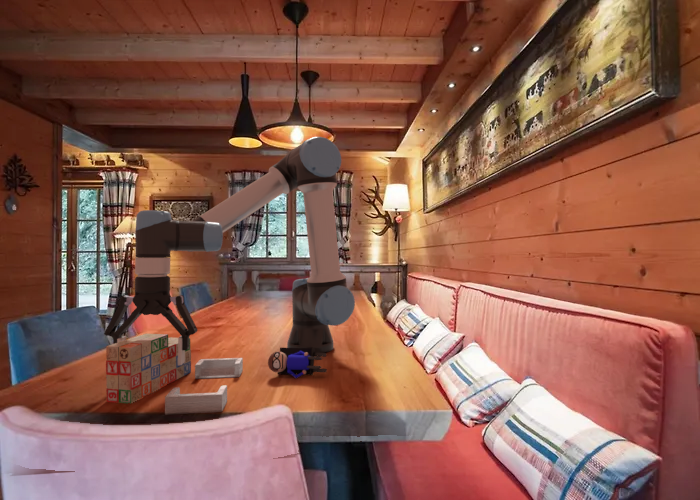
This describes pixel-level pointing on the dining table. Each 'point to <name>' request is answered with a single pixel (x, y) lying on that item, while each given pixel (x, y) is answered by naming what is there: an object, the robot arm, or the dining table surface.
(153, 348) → the stack of blocks
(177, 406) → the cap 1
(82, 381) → the dining table surface
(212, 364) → the grey piece
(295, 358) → the character figurine
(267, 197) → the robot arm
